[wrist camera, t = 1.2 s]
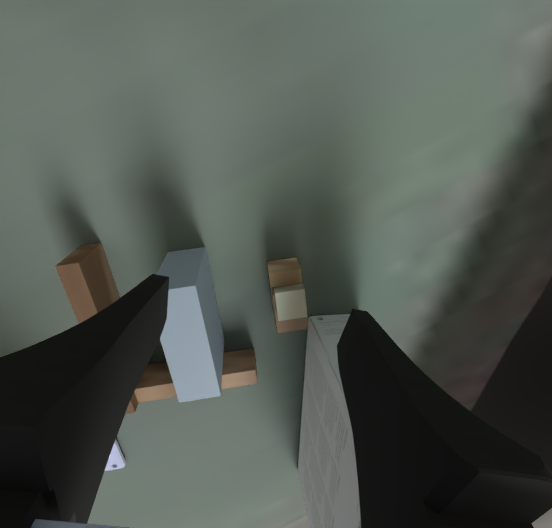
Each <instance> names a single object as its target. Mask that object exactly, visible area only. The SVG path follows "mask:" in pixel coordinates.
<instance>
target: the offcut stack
mask: <svg viewBox="0 0 552 528" xmlns="http://www.w3.org/2000/svg"><path fill="white" fill-rule="evenodd" d="M267 268H268V275H269V283H270V291H271V298H272V306H273V313H274V318H275V324H276V328H277V333H284V332H290V331H297V330H303V329H308V316H307V304H306V292H305V288H304V286H303V283H302V272H301V267H300V265H299V263H298V260H297V258H296V257H295V258H288V259H281V260H274V261H267Z"/></svg>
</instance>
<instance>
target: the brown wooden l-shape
mask: <svg viewBox="0 0 552 528" xmlns="http://www.w3.org/2000/svg"><path fill="white" fill-rule="evenodd" d="M55 267H56V269H57V272H58V274H59V276H60V279H61V281H62V284H63V286H64V289H65V291H66V293H67V296H68V298H69V301H70V303H71V306H72V308H73V310H74V313H75V315H76V318H77V320H78V323H79V324H80V323H81V322H83V321H85V320H87V319H88V318H90V317H92V316H93V315H95V314H97V313H98V312H100V311H101V310H103V309H105V308H106V307H108V306H109V305H111V304H112V303H114V302H115V301H117V300H118V299H119V298H120V297H119V294H118V291H117V288H116V285H115V282H114V279H113V276H112V273H111V271H110V268H109V265H108V262H107V259H106V256H105V253H104V250H103V247H102V244H101V243H97V244H90V245H82V246H80V247H79V248H78V249H76V250H75V251H74V252H73V253H71V254H70V255H69V256H68V257H66V258H65V259H64V260H62V261H61V262H60V263H59V264H57V265H56V266H55ZM256 383H258V382H257V370H256V359H255V353H254V348H250V349H244V350H237V351H231V352H225V353H223V369H222V386H221V389H226V388H232V387H238V386H244V385H250V384H256ZM171 397H177V394H176V390H175V387H174V384H173V380H172V377H171V374H170V370H169V367H168V364H167V362H161V363H155V364H148V365H147V367H146V369H145V371H144V373H143V375H142V377H141V379H140V381H139V383H138V385H137V387H136V389H135V391H134V393H133V395H132V398H131V400H130V402H129V405H128V407H127V410H126V413H125V414H127V413H133V412H135V411H136V408H137V405H138V403H140V402H146V401H152V400H158V399H165V398H171Z"/></svg>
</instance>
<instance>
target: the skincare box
mask: <svg viewBox="0 0 552 528" xmlns="http://www.w3.org/2000/svg"><path fill="white" fill-rule="evenodd" d="M349 316H350V314H339V315H320V316H310V317H309V318H308V333H307V345H306V359H305V376H304V388H303V402H302V416H301V431H300V446H299V461H298V475H299V480H300V484H301V488H302V493H303V497H304V501H305V506H306V510H307V515H308V519H309V523H310V527H311V528H361V516H360V502H359V488H358V477H357V467H356V457H355V449H354V441H353V433H352V427H351V422H350V418H349V413H348V409H347V404H346V400H345V396H344V391H343V387H342V382H341V378H340V373H339V367H338V356H337V344H338V342H339V340H340V337H341V335H342V332H343V330H344V328H345V325H346V323H347V321H348V318H349Z"/></svg>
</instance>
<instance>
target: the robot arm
mask: <svg viewBox="0 0 552 528" xmlns="http://www.w3.org/2000/svg"><path fill="white" fill-rule="evenodd" d="M168 291H169V277H167V276H162V275H156V274H152V275H151V276H149V277H148V278H146V279H145V280H144V281H142V282H141V283H140V284H139V285H137V286H136V287H135V288H133V289H132V290H131V291H129V292H128V293H126V294H125V295H124V296H122V297H121V298H119V299H118V300H117V301H115V302H114V303H112V304H111V305H109V306H108V307H106V308H105V309H103V310H101V311H100V312H98V313H97V314H95V315H93V316H92V317H90V318H88V319H87V320H85V321H83V322H81V323H80V324H78V325H76V326H74V327H72V328H70V329H68V330H66V331H64V332H62V333H60V334H58V335H55V336H53V337H51V338H48V339H46V340H44V341H42V342H39V343H37V344H35V345H32V346H30V347H27V348H25V349H22V350H20V351H17V352H14V353H12V354H9V355H6V356H3V357H0V528H128V527H117V526H106V525H96V524H87V522H88V519H89V515H90V512H91V509H92V506H93V503H94V500H95V497H96V494H97V491H98V488H99V485H100V482H101V479H102V477H103V474H104V471H108V470H114V469H119V468H123V467H124V466H125V463H126V461H125V459H124V456H123V454H122V452H121V449H120V447H119V445H118V442H117V440H116V437H117V434H118V431H119V428H120V426H121V423H122V420H123V418H124V415H125V413H126V410H127V407H128V405H129V402H130V400H131V398H132V395H133V393H134V391H135V389H136V387H137V385H138V383H139V381H140V379H141V377H142V375H143V373H144V371H145V369H146V367H147V365H148V363H149V361H150V359H151V357H152V355H153V353H154V351H155V349H156V346H157V344H158V342H159V340H160V337H161V334H162V331H163V328H164V325H165V322H166V319H167V307H168ZM337 356H338V367H339V373H340V378H341V382H342V387H343V391H344V396H345V400H346V404H347V409H348V413H349V418H350V422H351V427H352V433H353V441H354V449H355V457H356V467H357V477H358V488H359V502H360V516H361V528H534V527H533V526H532V524H531V523H532V522H534V521H535V520H536V519H538V518H539V517H540V516H542V515H543V514H544V513H546V512H547V511H548V510H550V509H551V508H552V473H551V472H550V470H549V469H548V467H547V466H546V464H545V463H544V461H543V460H542V459H541V457H540V456H539V455H537V454H536V453H534V452H532V451H531V450H529V449H527V448H526V447H524V446H522V445H520V444H519V443H517V442H516V441H514V440H512V439H510V438H509V437H507V436H506V435H504V434H503V433H501V432H499V431H498V430H496V429H495V428H493V427H492V426H490V425H489V424H487V423H486V422H485V421H483V420H482V419H480V418H479V417H477V416H476V415H475V414H473V413H472V412H470V411H469V410H468V409H466V408H465V407H464V406H462V405H461V404H460V403H459V402H457V401H456V400H455V399H453V398H452V397H451V396H450V395H448V394H447V393H446V392H445V391H444V390H442V389H441V388H440V387H439V386H438V385H437V384H436V383H434V382H433V381H432V380H431V379H430V378H429V377H428V376H427V375H426V374H424V373H423V372H422V371H421V370H420V369H419V368H418V367H417V366H416V365H415V364H414V363H413V362H412V361H411V360H410V359H409V358H408V357H407V355H406V354H405V353H404V352H403V351H402V350H401V349H400V348H399V347H398V346H397V345H396V343H395V342H394V341H393V340H392V339H391V338H390V337H389V336H388V334H387V333H386V332H385V331H384V330H383V329H382V327H381V326H380V325H379V324H378V323H377V322H376V321H375V319H374V318H373V317H372V316H371V315H370V314H369V313H368V312H367V311H362V310H356V309H352V311H351V313H350V316H349V318H348V321H347V323H346V325H345V328H344V330H343V332H342V335H341V337H340V340H339V342H338V344H337Z"/></svg>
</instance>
